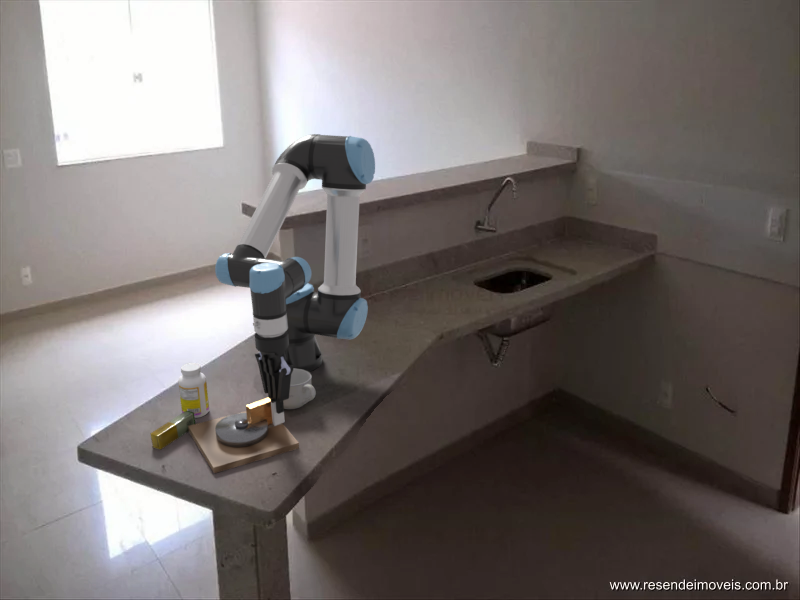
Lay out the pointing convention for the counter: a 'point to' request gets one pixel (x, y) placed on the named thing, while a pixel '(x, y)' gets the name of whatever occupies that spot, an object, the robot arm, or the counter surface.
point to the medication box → (172, 430)
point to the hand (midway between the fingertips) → (278, 423)
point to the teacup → (299, 389)
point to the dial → (245, 425)
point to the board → (233, 457)
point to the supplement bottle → (193, 390)
